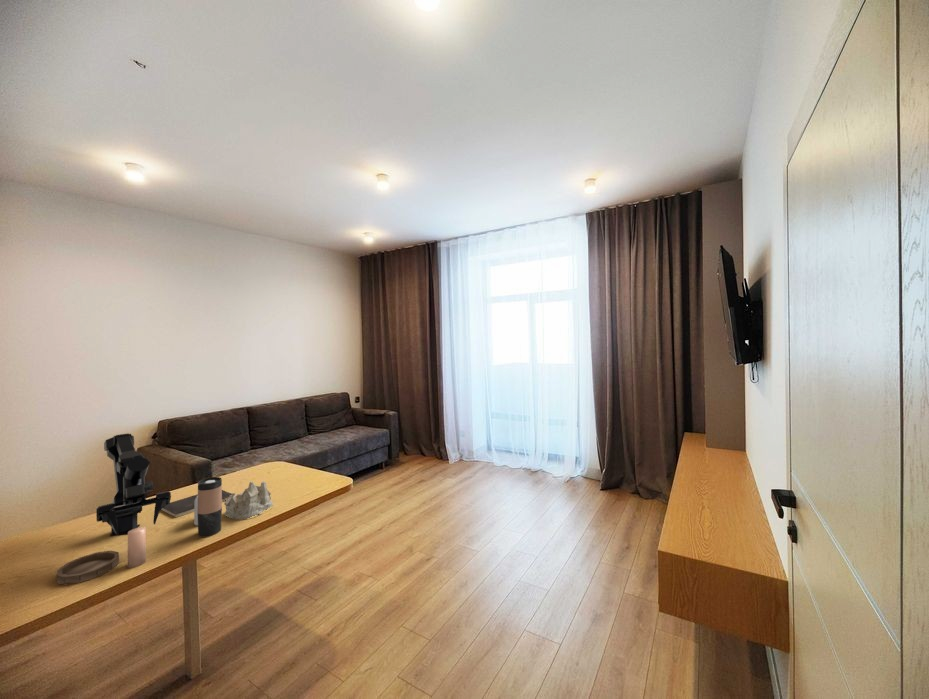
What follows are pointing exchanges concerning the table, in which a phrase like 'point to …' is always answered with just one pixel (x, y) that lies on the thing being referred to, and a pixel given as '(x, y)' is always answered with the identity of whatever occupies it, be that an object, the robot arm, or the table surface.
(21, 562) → the table surface
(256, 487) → the ceramic cottage
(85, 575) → the tray
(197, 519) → the photo printer
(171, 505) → the hardcover book
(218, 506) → the travel mug
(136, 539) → the candle
